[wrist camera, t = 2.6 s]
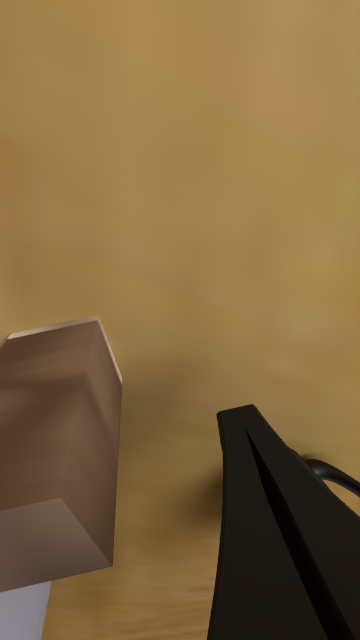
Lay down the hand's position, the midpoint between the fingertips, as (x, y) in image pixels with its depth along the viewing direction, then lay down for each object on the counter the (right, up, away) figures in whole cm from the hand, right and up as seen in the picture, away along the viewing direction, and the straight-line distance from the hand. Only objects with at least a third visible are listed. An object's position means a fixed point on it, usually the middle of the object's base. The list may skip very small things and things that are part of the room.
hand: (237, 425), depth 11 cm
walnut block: (-8, +2, +5) cm, 10 cm away
